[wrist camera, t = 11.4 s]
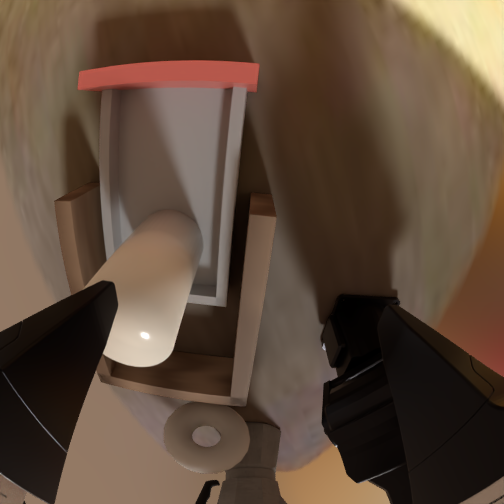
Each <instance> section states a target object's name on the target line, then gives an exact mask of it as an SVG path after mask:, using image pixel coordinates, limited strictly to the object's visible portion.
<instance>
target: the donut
mask: <svg viewBox="0 0 504 504" xmlns="http://www.w3.org/2000/svg"><path fill="white" fill-rule="evenodd" d="M201 426H211V427H214V428H216V429H217V430H218V431H219V432H220V434H221V439H220V441H219V443H218V444H216V445H214V446H211V447H203V446H200V445H198V444H196V443H195V442H194V441H193V439H192V433H193V432H194V430H195V429H197V428H198V427H201ZM164 443H165V446H166V448H167V451H168V453H169V454H170V455H171V456H172V457H173V459H174V460H175V461H176V462H177V463H179V464H180V465H182V466H183V467H185V468H187V469H188V470H192V471H195V472H198V473H202V474H204V473H205V474H207V473H219V472H223V471H226V470H229V469H231V468H232V467H234V466H235V465H236V464H238V463H239V462H240V461H241V460H242V459H243V457H244V456H245V454H246V453H247V451H248V447H249V443H250V436H249V430H248V426H247V425H246V423H245V421H244V419H243V418H242V417H241V416H240V415H239V414H238V413H237V412H236V411H235V410H234V409H232V408H230V407H228V406H226V405H221V404H212V403H203V402H196V401H195V402H191V403H187V404H185V405H183V406H181V407H180V408H178V409H176V410H175V411H174V412H173V413H172V414H171V416H170V417H169V418H168V420H167V422H166V424H165V427H164Z"/></svg>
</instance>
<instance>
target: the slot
mask: <svg viewBox="0 0 504 504" xmlns="http://www.w3.org/2000/svg"><path fill="white" fill-rule="evenodd" d="M54 202H55V211H56V219H57V226H58V233H59V239H60V245H61V250H62V255H63V260H64V265H65V270H66V274H67V279H68V283H69V287H70V291H71V295H73V294H75V293H77V292H79V291H81V290H83V289H84V287H85V286H86V285H87V284H88V283H89V281H90V280H91V279H92V278H93V277H94V275H95V274H96V273H97V272H98V271H99V269H100V268H101V267H102V266H103V265H104V264H105V262H106V261H107V258H106V250H105V242H104V232H103V222H102V210H101V194H100V183H88V184H86V185H84V186H82V187H80V188H78V189H76V190H74V191H72V192H70V193H68V194H66V195H64V196H63V197H61V198H59V199H57V200H55V201H54ZM276 218H277V217H276V212H275V207H274V203H273V198H272V195H271V194H262V193H253V192H251V197H250V206H249V215H248V224H247V234H246V243H245V252H244V262H243V271H242V281H241V290H240V300H239V309H238V319H237V329H236V339H235V349H234V358H227V357H218V356H209V355H201V354H193V353H186V352H179V351H172V353H171V354H170V356H169V357H168V358H167V359H166V360H164V361H163V362H161V363H159V364H157V365H154V366H148V367H135V366H129V365H125V364H122V363H119V362H117V361H115V360H112V359H111V358H109V357H107V356H105V355H104V354H102V357H101V359H100V362H99V364H98V367H97V369H96V371H97V373H98V376H99V378H100V381H101V382H103V383H107V384H110V385H114V386H118V387H122V388H126V389H130V390H135V391H139V392H144V393H149V394H154V395H159V396H164V397H170V398H176V399H182V400H189V401H196V402H203V403H212V404H221V405H231V406H243V407H246V402H247V397H248V391H249V385H250V380H251V374H252V368H253V363H254V357H255V351H256V345H257V339H258V333H259V327H260V321H261V315H262V309H263V303H264V297H265V290H266V284H267V278H268V271H269V265H270V258H271V252H272V245H273V239H274V232H275V225H276Z"/></svg>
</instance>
